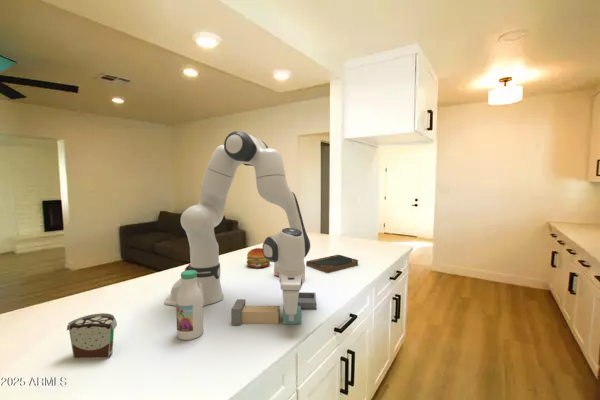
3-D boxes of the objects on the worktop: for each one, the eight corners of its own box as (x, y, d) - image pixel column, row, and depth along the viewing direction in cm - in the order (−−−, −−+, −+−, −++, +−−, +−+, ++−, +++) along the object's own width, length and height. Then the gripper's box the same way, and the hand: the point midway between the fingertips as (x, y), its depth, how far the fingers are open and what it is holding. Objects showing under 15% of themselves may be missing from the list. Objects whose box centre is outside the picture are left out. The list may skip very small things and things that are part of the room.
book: (326, 274, 152) (359, 266, 167) (326, 267, 152) (359, 260, 167) (306, 266, 166) (337, 259, 181) (306, 260, 166) (337, 254, 181)
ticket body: (230, 325, 97) (229, 308, 97) (235, 314, 105) (235, 299, 105) (277, 325, 97) (277, 309, 97) (280, 314, 105) (280, 299, 105)
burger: (244, 269, 160) (243, 251, 159) (249, 262, 173) (249, 245, 173) (268, 269, 159) (268, 251, 159) (271, 262, 173) (271, 246, 172)
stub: (283, 324, 98) (283, 312, 98) (283, 317, 103) (283, 305, 103) (301, 323, 98) (301, 311, 98) (300, 316, 103) (300, 305, 103)
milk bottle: (194, 325, 97) (193, 266, 96) (208, 333, 92) (206, 271, 91) (172, 335, 91) (170, 272, 90) (185, 343, 86) (183, 277, 85)
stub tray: (289, 309, 110) (289, 302, 110) (290, 298, 120) (290, 292, 120) (316, 309, 110) (316, 302, 109) (315, 298, 120) (315, 292, 120)
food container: (127, 345, 85) (125, 312, 85) (114, 358, 79) (113, 322, 79) (84, 346, 85) (82, 312, 84) (68, 358, 79) (66, 323, 78)
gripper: (285, 267, 110) (285, 302, 111) (280, 286, 90) (280, 330, 91) (301, 267, 110) (302, 303, 111) (300, 286, 90) (300, 330, 90)
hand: (292, 315), depth 101 cm, fingers closed on stub, 5 cm apart
